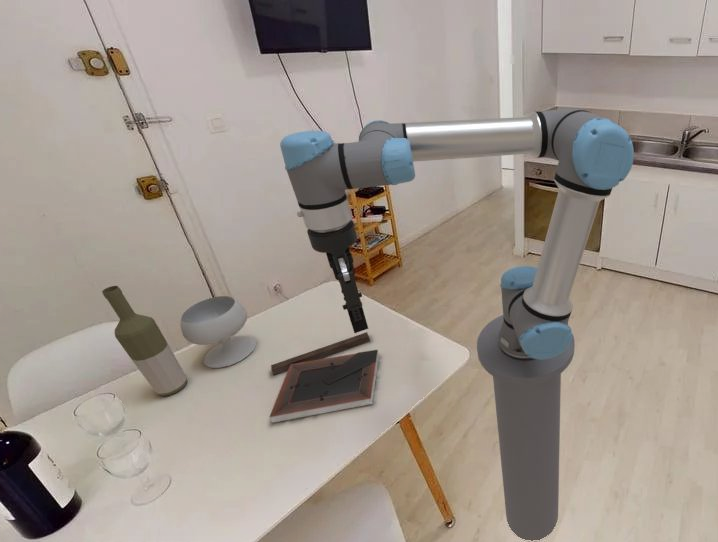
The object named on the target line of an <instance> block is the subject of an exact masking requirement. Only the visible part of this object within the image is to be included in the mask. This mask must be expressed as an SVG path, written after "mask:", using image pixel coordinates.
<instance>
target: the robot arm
mask: <svg viewBox="0 0 718 542" xmlns="http://www.w3.org/2000/svg"><path fill="white" fill-rule="evenodd" d="M279 146H280V151H281V154H282V158H283V161H284V166H285V167H284V169H285V171H286V173H287V176H288V179H289V181H290V184H291V187H292V190H293V193H294V195H295V198H296V201H297V204H298V207H299V211H297V212H296V215H297V217H299V218H302V220H303V222H304V226H305V228H306V229H307V230H306V233H307V237H308V240H309V242H310V245H311V248H312V250H314V251H315V252H316V253H317V252H318V253H320V254H321V253H323V254H325V255H326V258H327V262H328V264H329V267H330V268H331V269H332V272H333V276H334V278H335V280H336V281H338V283H339V286H340V289H341V294H342V295H343V300H344V301H345V304H342V309H343V311H346V310H347V313H348V317H349V320H350V325H351V327H352V331H353V333H354V334H357V333H360V332H363V331H366V330H369V325H368V321H367V319H366V315H365V311H364V308H363V302H362V300H361V298H362V297H363V294H362V292H361V291H360V292H359V289H358V285H357V281H356V277H355V275H356V270H355V267H354V258H353V254H352V252H351V251H350V250H351V249H350V247H352V246H353V245H354V244H355V243H356V242H357V240H358V235H357V230H356V227H355V223H354V220H352V219H353V213H352V210H351V205H350V201H349V198H348V196H347V193H346V191H347V190H355V189H365V188H372V187H382V186H397V185H399V184H404V183H409V182H412V181H414V180H415V178H416V171H415V166H414V165H415V164H414V162H429V161H430V162H431V161H442V160H443V161H444V160H458V159H459V160H460V159H472V158H473V159H474V158H485V157H502V156H514V155H517V156H519V155H530V156H531V157H532V158H534V159H541V158H543V159H544V158H545V159H546V158H547V159H552V160H556V161H557V162H558V163H557V166H556V170H555V174H554V179H553V181H554V183H555V185H556V186H557V188H558V192H557V195H556V199H555V203H554V206H553V210H552V213H551V218H550V221H549V224H548V228H547V232H546V236H545V240H544V242H543V246H542V250H541V254H540V257H539V261H538V265H537V266H532V265H519V266H514V267H512V268H509V269H507V270H506V271H504V273H503V274H502V275H501V277H500V289H501V291H500V292H501V305H502V315H503V319H504V320H503V323H502V326H501V330H500V332H499V337H498V341H499V347H500V349H501V351H502V352H503V353H504V354H505V355H507V356H508V357H510V358H513V359H517V360H533V359H539V360H544V359H550V358H553V357H555V356H557V355H558V354H561V353H562V352H564V351H565V350H566V349H567V348H568V347H569V345H570V344H571V341H572V334H573V332H572V331H573V330H572V328H571V326H570V325H569V321H570V318H571V315H572V311H573V309H574V306H573V305H574V304H573V302H572V299H571V298H570V296H571V292H572V290H573V286H574V283H575V279H576V277H577V274H578V270H579V268H580V265H581V261H582V258H583V255H584V252H585V248H586V246H587V244H588V240H589V237H590V233H591V230H592V227H593V224H594V221H595V219H596V215H597V213H598V209H599V205H600V203H601V201H603V200H605V199H607V198H609V197H610V196H611V194H612V191H613V188H615V187H617V186H619V184H620V183H621V182H623V181H624V180H625V179H626V178H627V176H628V175H629V173H630V172H631V170H632V167H633V164H634V159H635V150H634V149H635V148H634V143H633V141H632V140H631V137H630V135H629V134H628V132H627V131H626V130H625V129H624V128H623V127H621V125H618V124H617V123H616V122H615V121H613V120H611V119H608V118H607V117H606V118H605V117H603V116H601V115H598V114H595V113H593V112H591V111H588V110H586V109H581V108H563V109H552V110H540V111H531V112H530V113H529V114H528V115H527V116H521V117H499V118H497V117H496V118H482V119H480V118H479V119H478V118H477V119H459V120H458V119H457V120H438V121H437V120H436V121H417V122H398V123H390V122H388V121H386V120H380V119H379V120H378V119H377V120H371V121H369V122H368V123H367V124H366V125H364V127H363V128H362V129H361V130H360V132H359V136H358V140H357V141H354V142H352V141H351V142H342V143H340V142H337V143H336V142H334V139H332V136H331V134H330V133H329V132H327V131H326V130H305V131H298V132H294V133H291V134H288V135H285V136H284V137H283V138H282V139H281V140H280V144H279Z"/></svg>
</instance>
